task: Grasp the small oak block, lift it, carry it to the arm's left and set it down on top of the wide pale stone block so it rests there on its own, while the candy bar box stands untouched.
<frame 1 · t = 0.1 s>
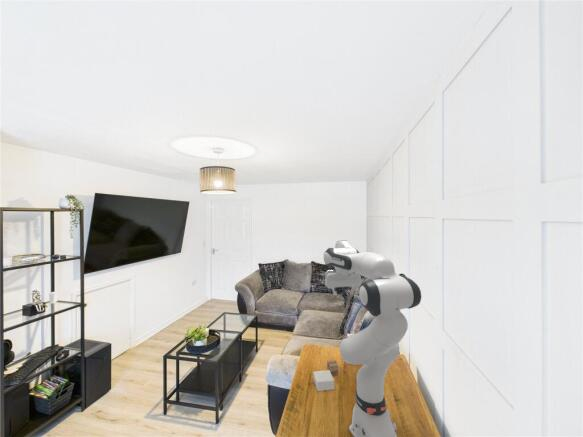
hand: (343, 294, 136), 48 cm above the table, fingers open, 8 cm apart
stone block: (323, 385, 133), on the table
candy bar box: (355, 361, 154), on the table
oak block: (332, 373, 143), on the table
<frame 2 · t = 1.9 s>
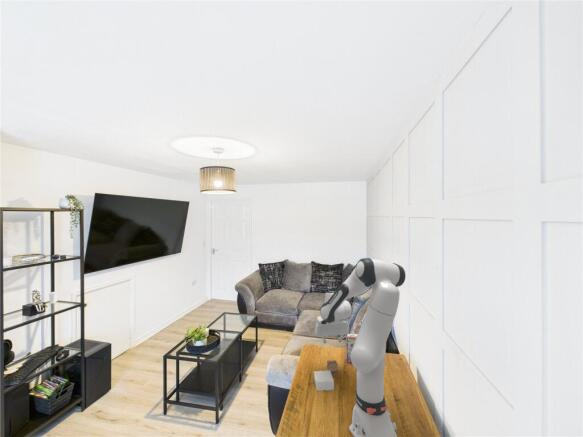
hand: (332, 342, 143), 18 cm above the table, fingers open, 8 cm apart
nothing on the table moved.
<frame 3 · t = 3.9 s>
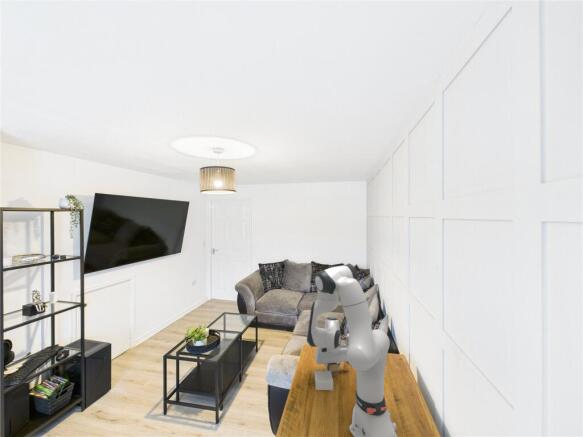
hand: (332, 369, 143), 2 cm above the table, fingers closed on oak block, 5 cm apart
oak block: (332, 373, 143), on the table, touching gripper
everything else where it was.
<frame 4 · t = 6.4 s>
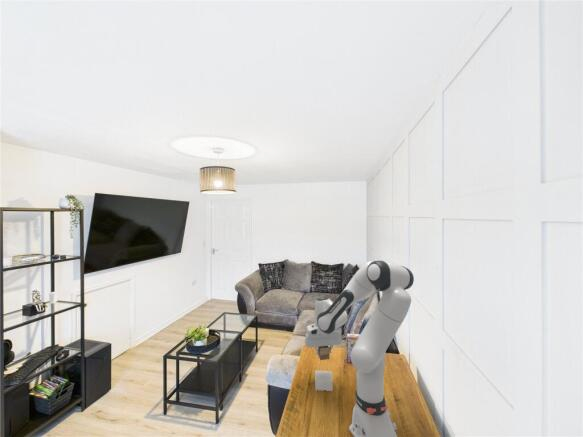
hand: (323, 353, 133), 17 cm above the table, fingers closed on oak block, 5 cm apart
oak block: (323, 357, 133), point 15 cm above the table, touching gripper
everything else where it was.
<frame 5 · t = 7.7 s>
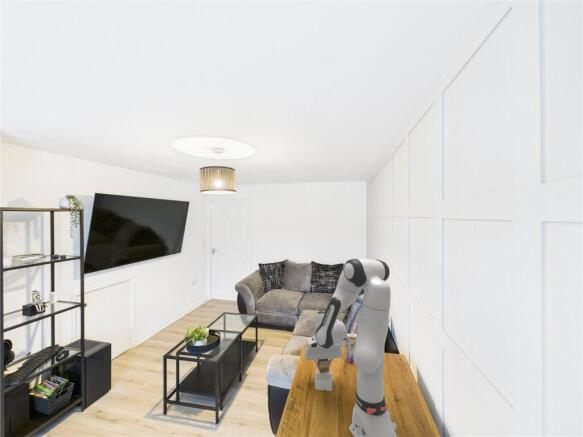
hand: (323, 366, 133), 10 cm above the table, fingers closed on oak block, 5 cm apart
oak block: (323, 369, 133), point 8 cm above the table, touching gripper
everything else where it was.
when the fingers open (9 cm above the table, at t = 8.8 s): oak block drops 2 cm, point 5 cm above the table.
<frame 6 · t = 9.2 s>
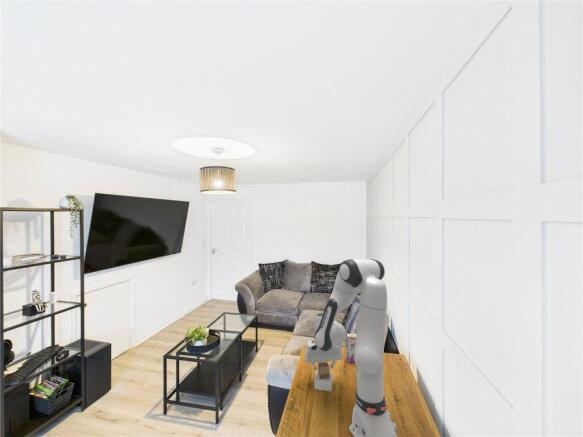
hand: (323, 368, 133), 9 cm above the table, fingers open, 8 cm apart
oak block: (323, 375, 133), point 5 cm above the table
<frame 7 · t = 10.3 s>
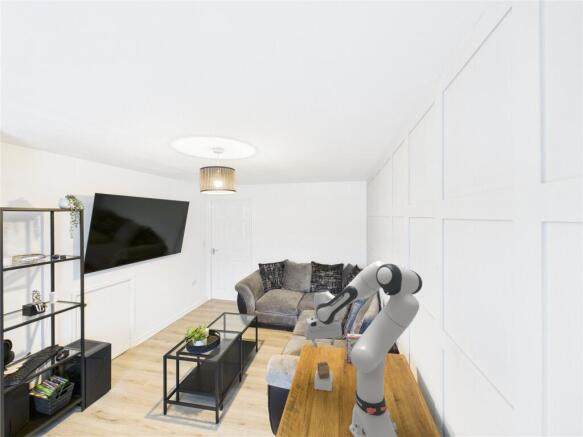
hand: (323, 345, 133), 21 cm above the table, fingers open, 8 cm apart
nothing on the table moved.
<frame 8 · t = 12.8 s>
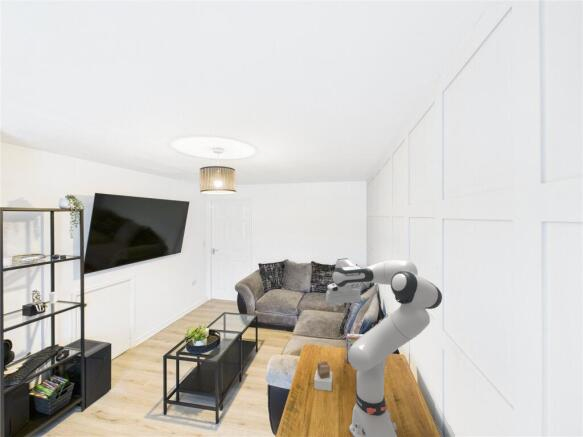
hand: (343, 310, 141), 37 cm above the table, fingers open, 8 cm apart
nothing on the table moved.
at the end: oak block 0.2 cm from the stone block (horizontally); oak block point 4.9 cm above the table; oak block tilted 0° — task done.
